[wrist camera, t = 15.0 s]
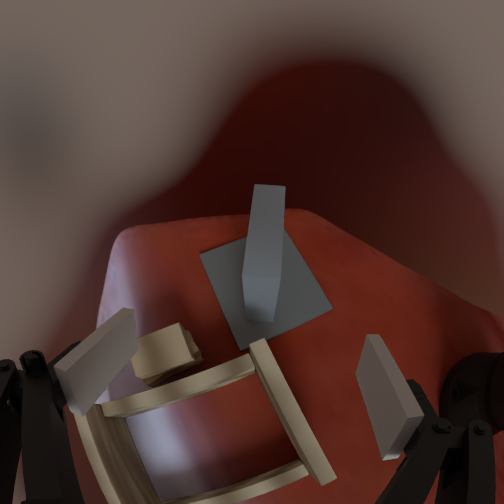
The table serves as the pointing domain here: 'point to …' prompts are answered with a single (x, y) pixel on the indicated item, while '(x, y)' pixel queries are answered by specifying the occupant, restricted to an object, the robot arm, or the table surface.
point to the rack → (112, 413)
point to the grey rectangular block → (264, 253)
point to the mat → (289, 296)
